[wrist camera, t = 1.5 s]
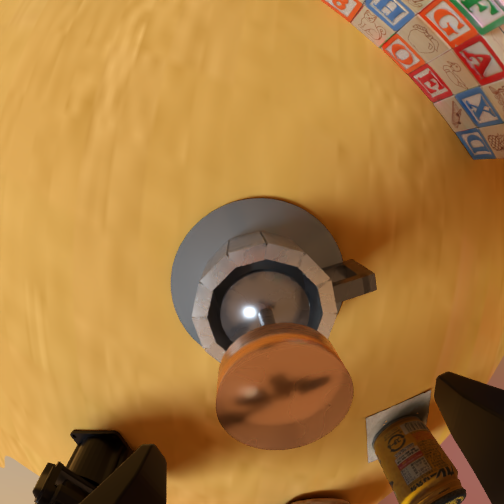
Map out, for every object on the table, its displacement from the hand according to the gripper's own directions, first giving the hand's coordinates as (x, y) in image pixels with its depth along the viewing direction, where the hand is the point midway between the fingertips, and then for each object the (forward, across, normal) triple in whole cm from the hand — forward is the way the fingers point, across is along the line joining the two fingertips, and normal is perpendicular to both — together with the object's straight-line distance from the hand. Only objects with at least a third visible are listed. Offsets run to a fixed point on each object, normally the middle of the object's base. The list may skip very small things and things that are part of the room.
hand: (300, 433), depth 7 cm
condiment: (+14, -10, +20) cm, 26 cm away
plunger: (+9, 0, 0) cm, 9 cm away
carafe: (+13, -1, 0) cm, 13 cm away
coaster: (+13, +1, 0) cm, 13 cm away
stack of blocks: (+14, -16, -16) cm, 27 cm away
